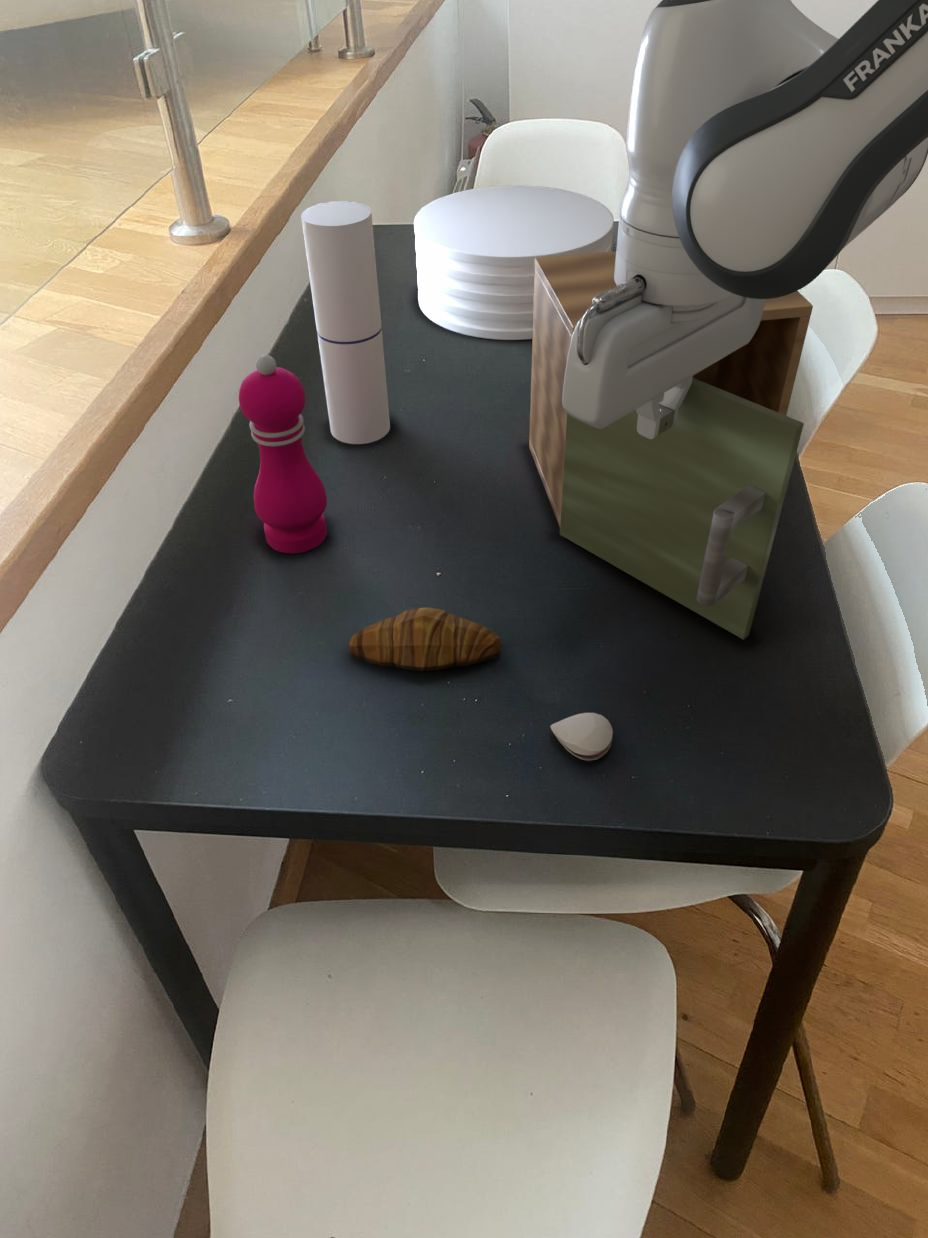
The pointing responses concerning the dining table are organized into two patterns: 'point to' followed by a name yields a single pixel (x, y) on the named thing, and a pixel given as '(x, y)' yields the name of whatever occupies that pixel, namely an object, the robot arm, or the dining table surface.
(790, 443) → the cupboard door
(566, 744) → the clam shell
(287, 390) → the pepper mill
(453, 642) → the croissant
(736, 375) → the cupboard
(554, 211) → the plate stack
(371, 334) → the cylindrical container
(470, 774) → the dining table surface
